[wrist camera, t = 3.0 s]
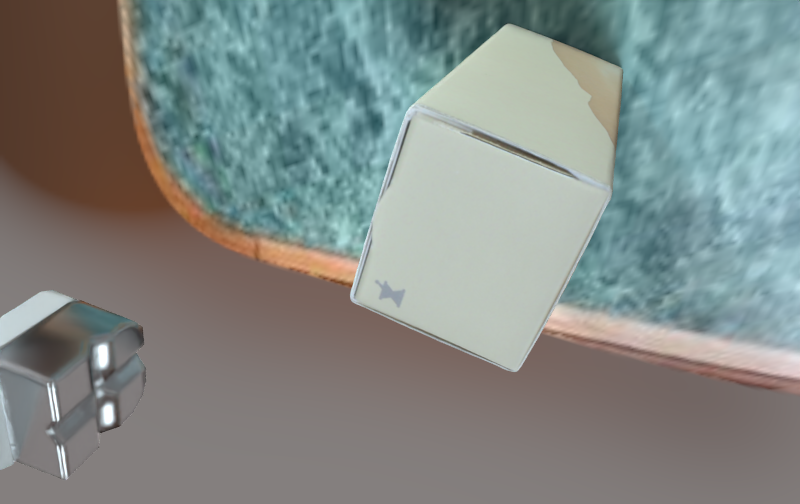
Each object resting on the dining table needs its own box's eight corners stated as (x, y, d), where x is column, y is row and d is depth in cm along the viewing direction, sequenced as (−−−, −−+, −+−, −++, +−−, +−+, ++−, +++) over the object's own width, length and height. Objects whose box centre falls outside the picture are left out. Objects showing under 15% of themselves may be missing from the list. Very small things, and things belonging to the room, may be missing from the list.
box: (562, 198, 24) (512, 390, 15) (453, 152, 25) (338, 310, 15) (630, 59, 21) (620, 190, 12) (505, 11, 22) (404, 101, 13)
